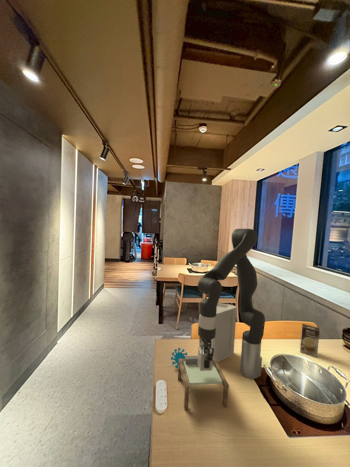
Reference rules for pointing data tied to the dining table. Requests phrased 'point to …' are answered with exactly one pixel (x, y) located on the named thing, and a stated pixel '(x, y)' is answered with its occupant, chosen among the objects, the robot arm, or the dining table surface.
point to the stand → (186, 398)
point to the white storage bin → (224, 331)
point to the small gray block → (202, 360)
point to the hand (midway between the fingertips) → (204, 363)
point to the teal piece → (178, 356)
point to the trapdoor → (200, 373)
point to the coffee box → (309, 340)
